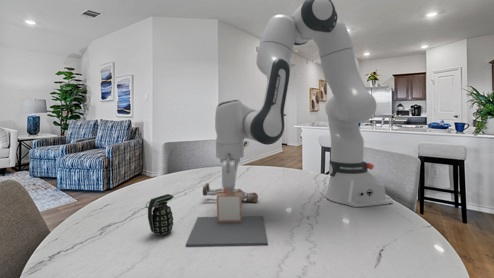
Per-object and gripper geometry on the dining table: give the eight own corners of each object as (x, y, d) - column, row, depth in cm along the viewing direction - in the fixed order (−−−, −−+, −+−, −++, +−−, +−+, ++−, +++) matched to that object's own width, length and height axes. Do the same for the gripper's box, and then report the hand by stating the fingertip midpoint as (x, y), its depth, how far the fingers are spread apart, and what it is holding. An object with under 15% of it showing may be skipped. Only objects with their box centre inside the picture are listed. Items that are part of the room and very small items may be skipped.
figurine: (206, 181, 95) (259, 187, 93) (205, 196, 96) (257, 202, 94) (202, 186, 89) (258, 193, 87) (201, 201, 90) (256, 208, 88)
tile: (241, 218, 75) (241, 192, 75) (241, 222, 73) (241, 195, 72) (218, 218, 75) (217, 193, 74) (217, 222, 73) (216, 195, 72)
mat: (262, 217, 77) (262, 215, 77) (267, 245, 61) (267, 242, 61) (197, 218, 77) (197, 217, 77) (185, 246, 61) (185, 244, 61)
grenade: (166, 226, 72) (165, 192, 71) (178, 232, 69) (177, 196, 68) (145, 235, 67) (143, 199, 66) (157, 241, 64) (154, 203, 63)
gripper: (239, 157, 69) (239, 205, 71) (240, 147, 90) (240, 184, 91) (216, 157, 69) (217, 205, 71) (222, 147, 90) (223, 184, 91)
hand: (230, 193), depth 81 cm, fingers closed
